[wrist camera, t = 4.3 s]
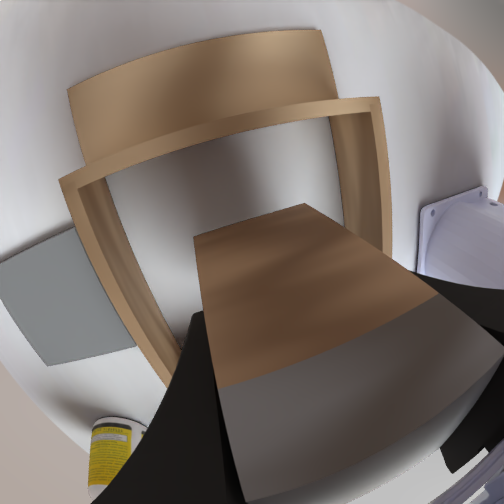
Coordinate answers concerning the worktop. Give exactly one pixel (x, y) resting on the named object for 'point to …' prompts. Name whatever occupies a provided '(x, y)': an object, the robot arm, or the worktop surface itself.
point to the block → (331, 358)
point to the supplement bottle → (111, 450)
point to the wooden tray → (205, 129)
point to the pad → (61, 301)
